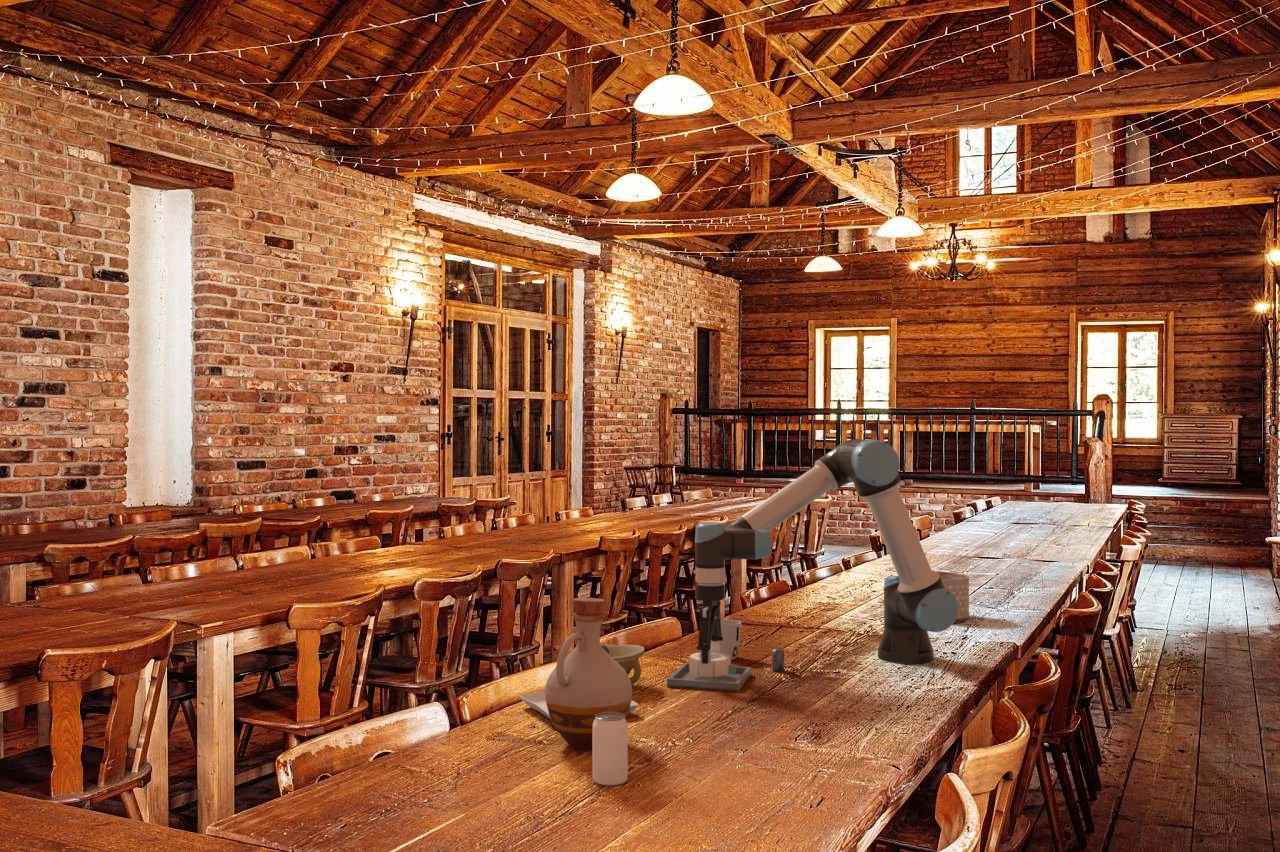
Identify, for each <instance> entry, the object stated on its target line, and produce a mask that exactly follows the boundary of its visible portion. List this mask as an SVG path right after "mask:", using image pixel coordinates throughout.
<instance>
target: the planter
mask: <svg viewBox="0 0 1280 852" xmlns="http://www.w3.org/2000/svg"><path fill="white" fill-rule="evenodd" d="M936 572H937V573H939V574H940V577H941V579H942V582H943V584H944V586H945V589H947V590H949V591H950V592H951V593H952V594H953V595H954V596H955V597H956V599H957V601H958V607H959V609H958V615H957V617H956V619H955V621H954V623H959V622H962V621H963V620H964V619H967V618H969V617H970V576H969V575H967V574H964V573H959V572H952V571H951V572H949V571H948V572H947V571H936Z"/></svg>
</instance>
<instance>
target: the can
mask: <svg viewBox="0 0 1280 852" xmlns="http://www.w3.org/2000/svg"><path fill="white" fill-rule="evenodd" d="M628 731H629V730H628V722H627V719H626V720H625V715H624V714H622V713H619V712H602V713H598V714H596V715H595V720H594V722H593V750H592V781H593V782H594V783H595V784H596V785H599V786H602V787H616V786H621V785H624V784H625V783H626V782H627V781H628V777H629V776H628V775H629V773H628V772H629V771H628V765H629V764H628V763H629V762H628V761H629V760H628V759H629V757H628V755H629V752H628V751H629V749H628V748H629V747H628V746H629V745H628V743H629V741H628V736H629V735H628Z"/></svg>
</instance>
